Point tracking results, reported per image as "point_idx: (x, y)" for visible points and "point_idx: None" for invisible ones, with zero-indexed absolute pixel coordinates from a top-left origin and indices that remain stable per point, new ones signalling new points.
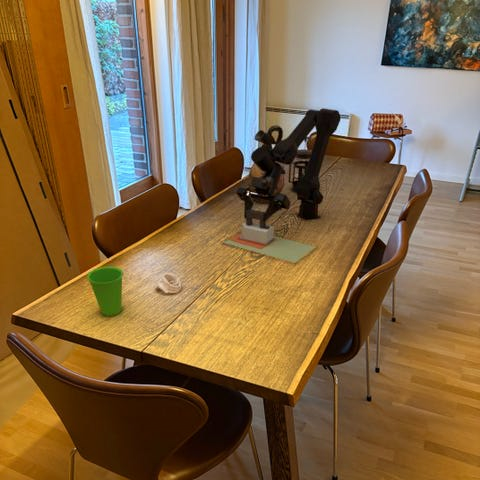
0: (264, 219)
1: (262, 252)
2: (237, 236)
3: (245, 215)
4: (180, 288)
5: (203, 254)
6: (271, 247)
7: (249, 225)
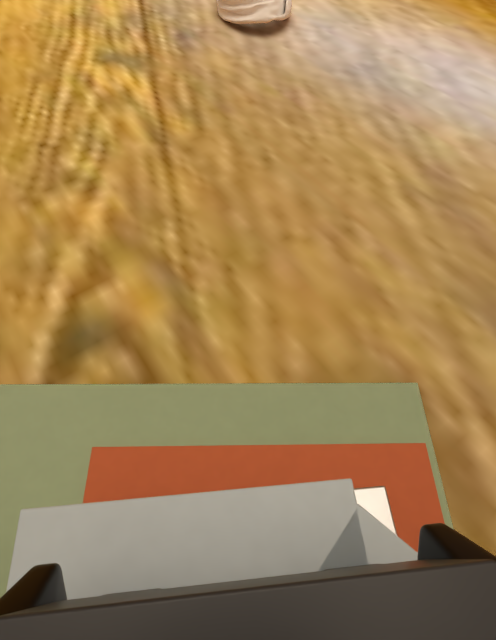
0: (5, 596)
1: (62, 399)
2: None
3: (444, 541)
4: (223, 15)
5: (378, 214)
6: None
7: (325, 567)
